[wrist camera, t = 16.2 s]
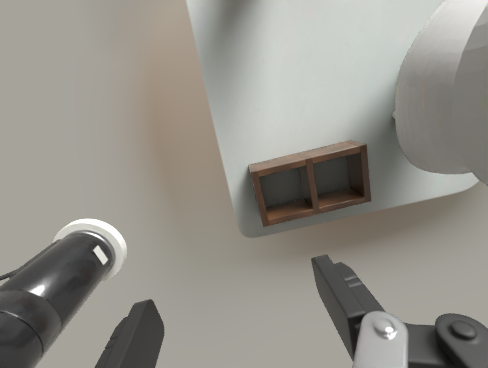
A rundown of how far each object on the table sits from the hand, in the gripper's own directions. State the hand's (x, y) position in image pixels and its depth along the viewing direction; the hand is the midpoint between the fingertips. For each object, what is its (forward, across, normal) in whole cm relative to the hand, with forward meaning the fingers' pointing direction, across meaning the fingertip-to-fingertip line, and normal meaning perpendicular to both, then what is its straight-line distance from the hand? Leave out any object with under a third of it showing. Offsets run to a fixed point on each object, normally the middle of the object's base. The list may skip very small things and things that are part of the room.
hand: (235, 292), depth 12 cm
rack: (+29, -12, +5) cm, 32 cm away
